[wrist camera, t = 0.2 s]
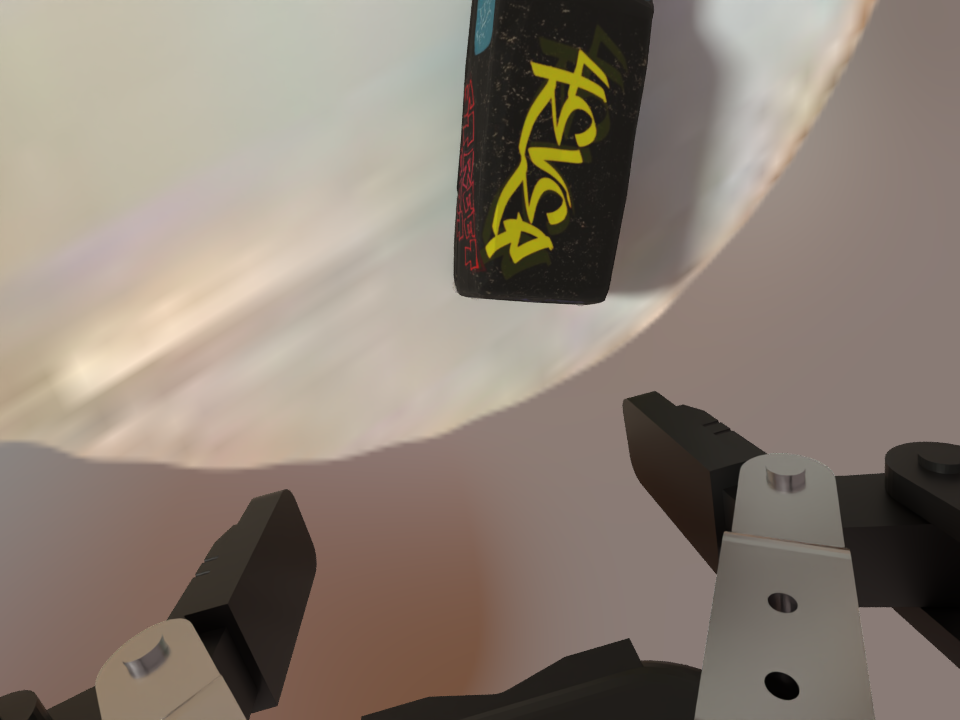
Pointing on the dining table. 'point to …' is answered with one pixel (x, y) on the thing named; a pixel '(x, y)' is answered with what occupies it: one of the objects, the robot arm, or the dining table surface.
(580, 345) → the dining table surface
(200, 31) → the dining table surface
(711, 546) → the robot arm
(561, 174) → the toy van
